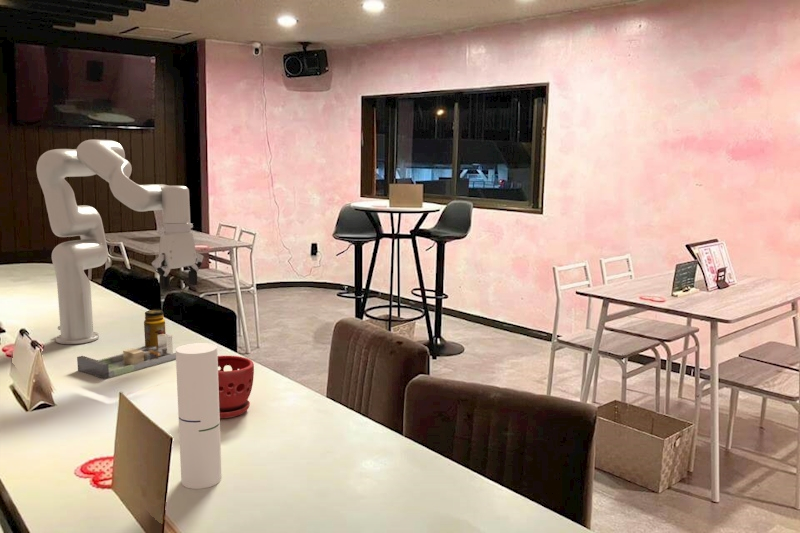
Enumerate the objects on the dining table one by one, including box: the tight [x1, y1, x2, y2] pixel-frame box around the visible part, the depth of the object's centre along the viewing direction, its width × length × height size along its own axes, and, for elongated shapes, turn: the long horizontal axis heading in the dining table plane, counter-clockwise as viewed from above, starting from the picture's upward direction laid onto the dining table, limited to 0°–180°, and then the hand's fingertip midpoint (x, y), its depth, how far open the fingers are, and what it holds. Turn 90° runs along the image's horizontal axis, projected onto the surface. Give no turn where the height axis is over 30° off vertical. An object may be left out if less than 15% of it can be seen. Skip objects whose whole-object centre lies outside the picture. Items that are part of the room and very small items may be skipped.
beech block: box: [122, 348, 144, 365], centre depth 196 cm, size 5×3×4 cm, turn 55°
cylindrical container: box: [175, 342, 223, 490], centre depth 128 cm, size 7×7×25 cm
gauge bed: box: [76, 346, 176, 380], centre depth 196 cm, size 12×24×5 cm, turn 145°
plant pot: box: [218, 355, 255, 419], centre depth 163 cm, size 13×13×12 cm
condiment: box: [143, 309, 166, 349], centre depth 214 cm, size 7×8×12 cm
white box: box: [139, 334, 174, 361], centre depth 201 cm, size 8×9×6 cm
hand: (179, 286), depth 207 cm, fingers open, 9 cm apart
